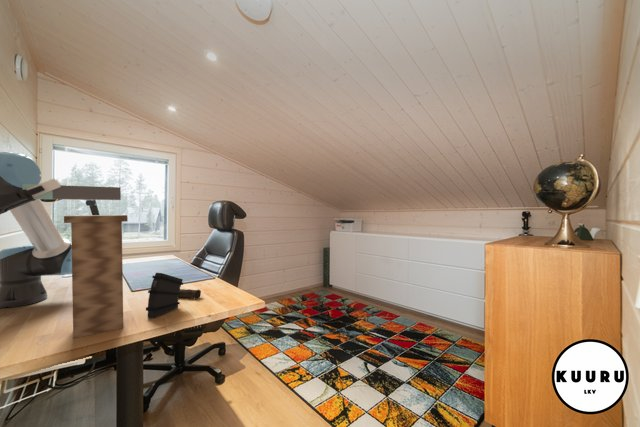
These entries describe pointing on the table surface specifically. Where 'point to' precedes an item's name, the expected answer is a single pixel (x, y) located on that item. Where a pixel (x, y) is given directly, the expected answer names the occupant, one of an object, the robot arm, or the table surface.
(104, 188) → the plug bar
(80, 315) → the walnut stand
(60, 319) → the table surface
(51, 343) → the table surface
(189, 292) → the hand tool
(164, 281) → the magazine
